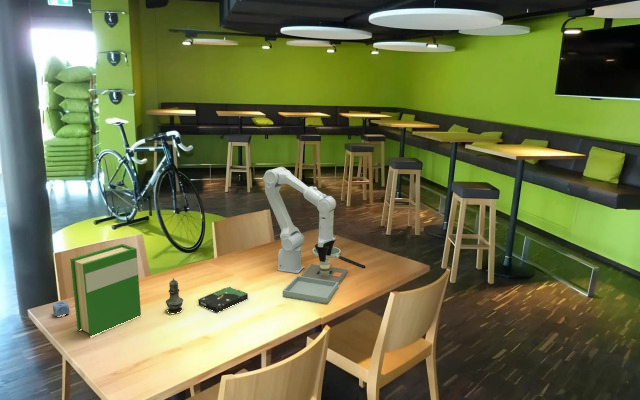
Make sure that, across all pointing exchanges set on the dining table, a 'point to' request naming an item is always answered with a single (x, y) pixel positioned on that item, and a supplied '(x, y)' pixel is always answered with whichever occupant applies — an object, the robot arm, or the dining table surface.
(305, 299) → the parts tray
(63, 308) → the decorative dice
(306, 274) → the fuse holder
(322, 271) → the fuse
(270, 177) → the robot arm
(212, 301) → the disk drive
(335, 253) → the magnifying glass
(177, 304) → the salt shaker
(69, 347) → the dining table surface
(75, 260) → the hardback book
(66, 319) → the dining table surface
